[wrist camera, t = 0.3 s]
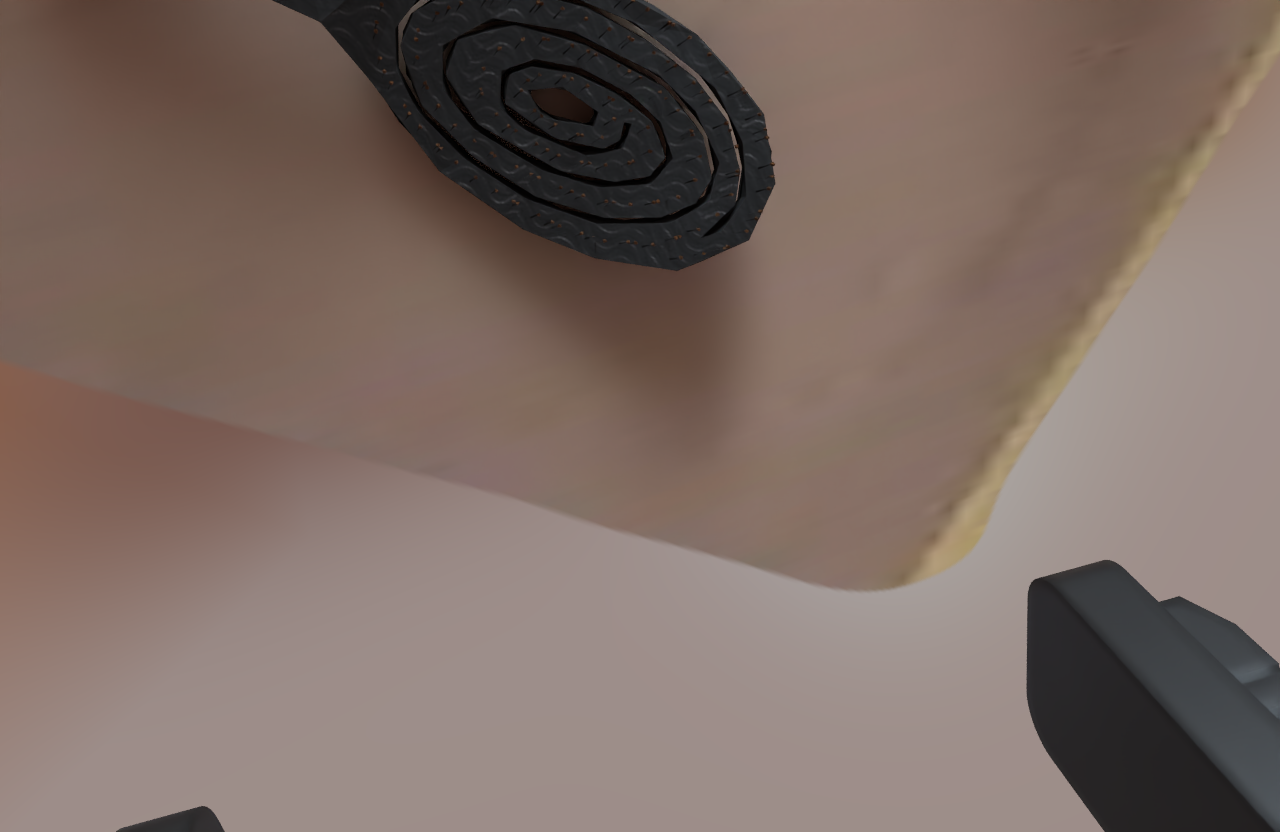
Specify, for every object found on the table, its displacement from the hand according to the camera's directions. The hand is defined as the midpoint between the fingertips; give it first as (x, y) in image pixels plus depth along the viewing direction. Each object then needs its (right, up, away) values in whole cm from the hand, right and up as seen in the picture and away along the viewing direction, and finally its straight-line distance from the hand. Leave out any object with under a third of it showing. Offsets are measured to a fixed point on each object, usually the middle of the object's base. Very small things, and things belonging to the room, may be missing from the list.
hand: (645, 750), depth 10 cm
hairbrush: (-7, +16, +23) cm, 29 cm away
